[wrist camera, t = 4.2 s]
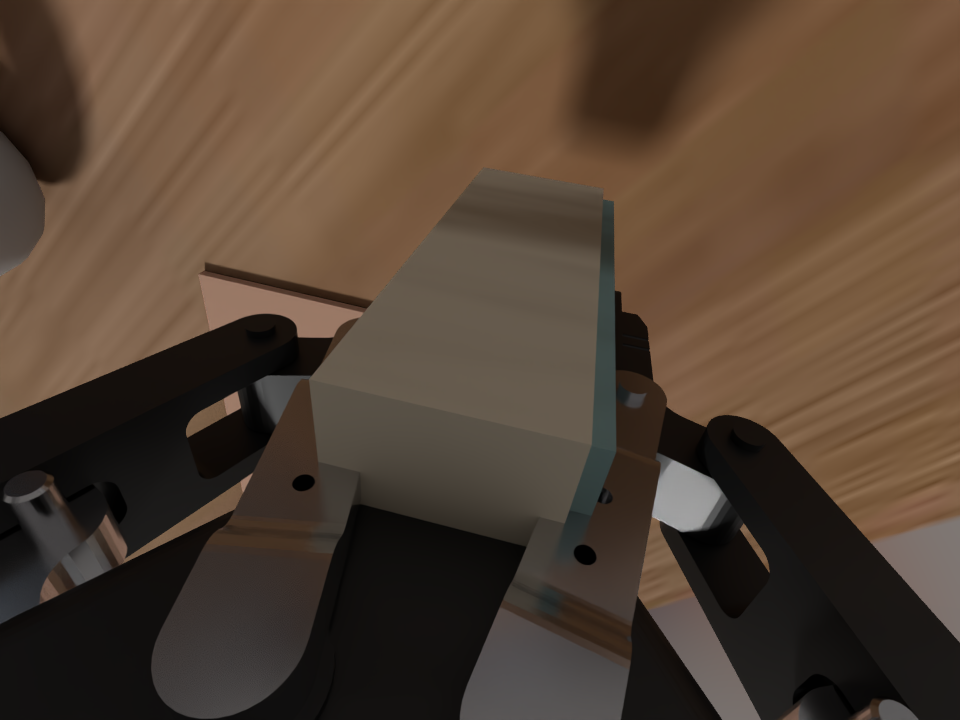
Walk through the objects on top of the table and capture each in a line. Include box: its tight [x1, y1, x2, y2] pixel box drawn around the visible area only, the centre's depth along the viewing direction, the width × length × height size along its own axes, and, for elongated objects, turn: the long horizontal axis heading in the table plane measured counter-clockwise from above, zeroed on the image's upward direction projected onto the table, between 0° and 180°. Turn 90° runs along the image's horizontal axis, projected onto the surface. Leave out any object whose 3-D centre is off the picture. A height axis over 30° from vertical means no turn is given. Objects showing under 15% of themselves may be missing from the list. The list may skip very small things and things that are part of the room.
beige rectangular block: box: [309, 167, 616, 547], centre depth 11 cm, size 6×3×9 cm, turn 173°
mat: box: [199, 271, 367, 492], centre depth 27 cm, size 16×20×1 cm
